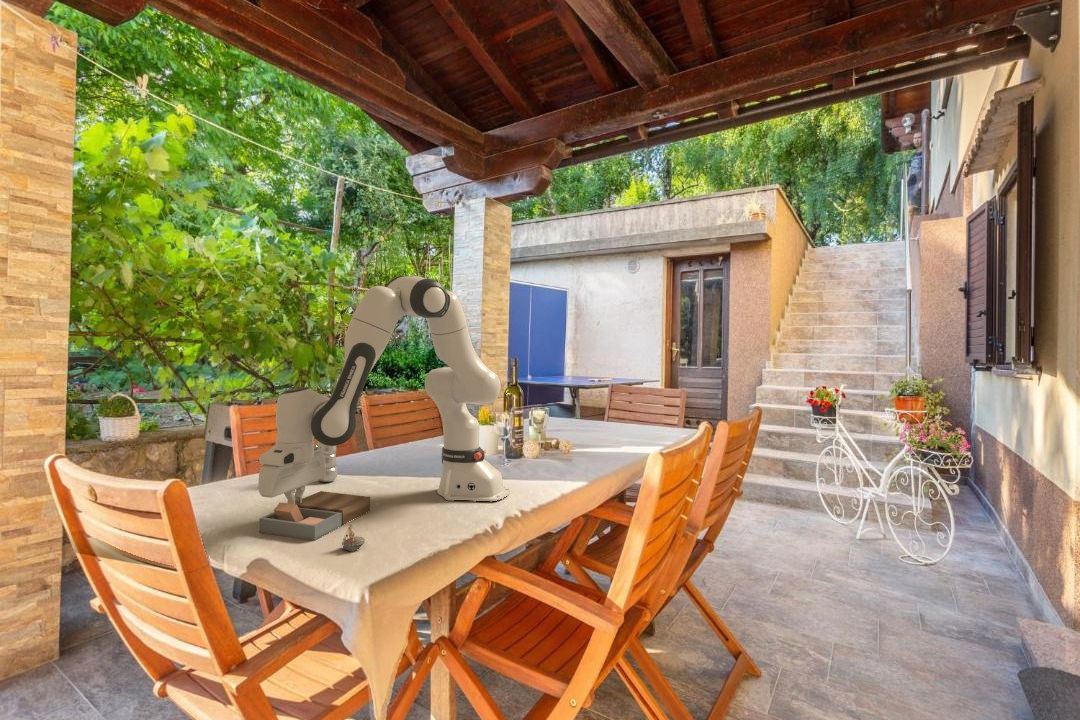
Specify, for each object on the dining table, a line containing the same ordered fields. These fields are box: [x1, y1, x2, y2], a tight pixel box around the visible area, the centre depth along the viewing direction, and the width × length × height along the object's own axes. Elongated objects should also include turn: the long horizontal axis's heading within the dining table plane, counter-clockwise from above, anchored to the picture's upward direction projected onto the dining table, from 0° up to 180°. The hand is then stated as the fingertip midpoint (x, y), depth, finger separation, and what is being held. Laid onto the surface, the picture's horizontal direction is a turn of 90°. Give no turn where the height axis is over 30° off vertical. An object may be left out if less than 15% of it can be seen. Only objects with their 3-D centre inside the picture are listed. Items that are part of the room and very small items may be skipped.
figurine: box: [341, 523, 366, 552], centre depth 121 cm, size 5×4×6 cm
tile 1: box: [273, 502, 303, 522], centre depth 134 cm, size 5×5×2 cm
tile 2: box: [299, 517, 325, 524], centre depth 130 cm, size 5×5×2 cm
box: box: [258, 507, 343, 541], centre depth 132 cm, size 16×10×4 cm, turn 74°
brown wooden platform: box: [297, 490, 371, 526], centre depth 143 cm, size 16×12×4 cm
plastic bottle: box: [316, 440, 338, 483], centre depth 175 cm, size 6×7×20 cm
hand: (294, 504), depth 136 cm, fingers closed
